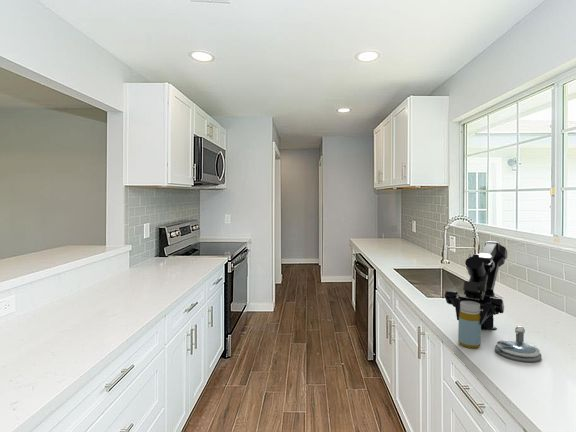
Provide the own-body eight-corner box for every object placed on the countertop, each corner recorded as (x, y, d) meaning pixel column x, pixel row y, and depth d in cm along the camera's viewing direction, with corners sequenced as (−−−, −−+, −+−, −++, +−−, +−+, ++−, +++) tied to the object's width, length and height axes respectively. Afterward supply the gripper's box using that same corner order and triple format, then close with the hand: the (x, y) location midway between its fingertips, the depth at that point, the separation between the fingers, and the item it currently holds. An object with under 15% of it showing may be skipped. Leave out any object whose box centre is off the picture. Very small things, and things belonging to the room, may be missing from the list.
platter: (489, 343, 125) (489, 340, 125) (522, 342, 126) (522, 339, 126) (512, 358, 113) (512, 355, 113) (548, 357, 114) (549, 354, 114)
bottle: (475, 350, 122) (476, 307, 121) (454, 344, 127) (455, 302, 127) (483, 345, 127) (484, 303, 126) (463, 339, 132) (464, 299, 131)
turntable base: (486, 345, 126) (486, 326, 126) (522, 345, 127) (522, 325, 127) (511, 363, 113) (512, 341, 113) (551, 362, 114) (552, 340, 113)
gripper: (446, 268, 135) (436, 304, 127) (503, 275, 123) (496, 315, 115) (452, 285, 141) (442, 320, 133) (507, 293, 129) (500, 332, 121)
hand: (468, 321), depth 126 cm, fingers closed on bottle, 7 cm apart
